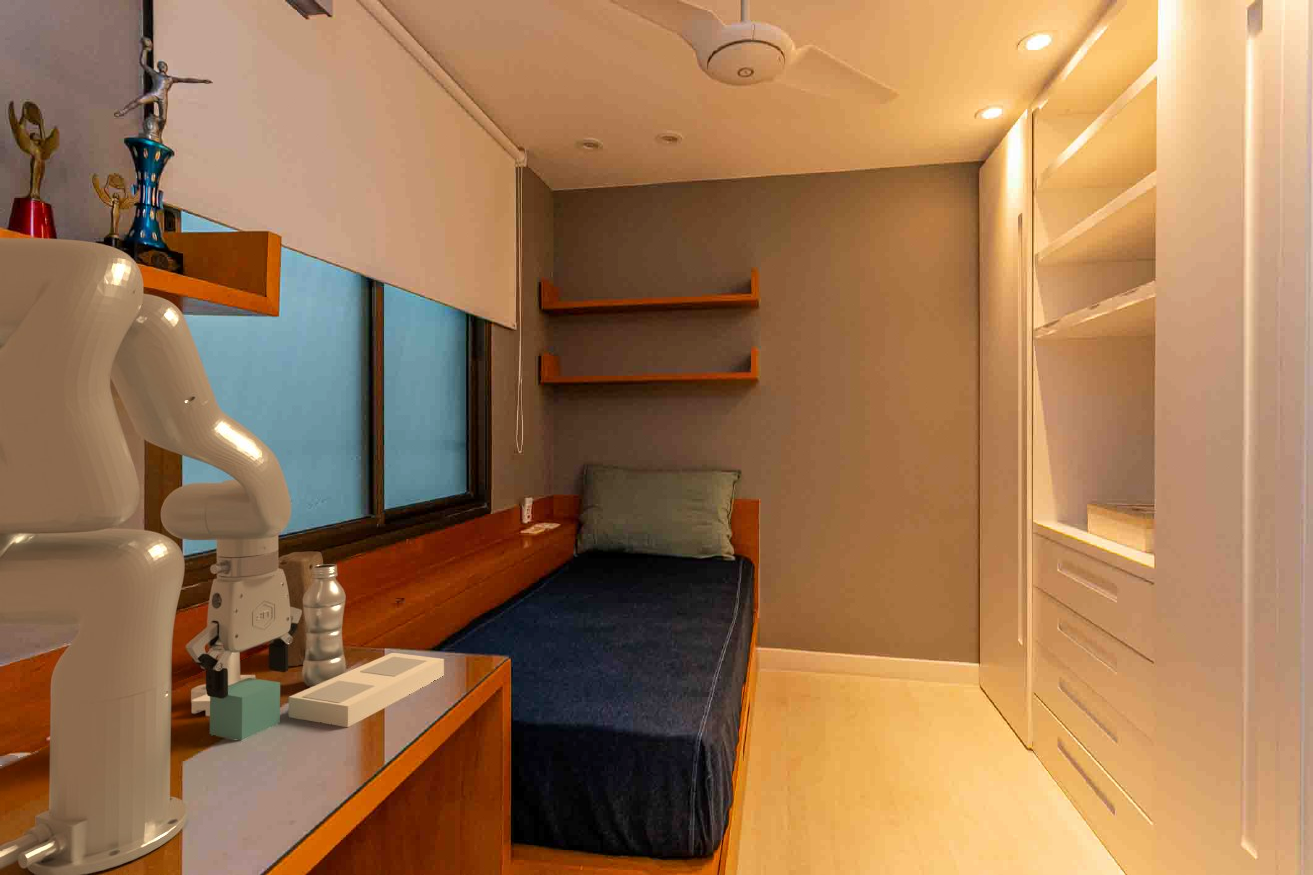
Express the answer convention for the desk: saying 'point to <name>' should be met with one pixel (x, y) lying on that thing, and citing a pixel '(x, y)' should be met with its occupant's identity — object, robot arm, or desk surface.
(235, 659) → the joystick
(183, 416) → the robot arm
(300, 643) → the block
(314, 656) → the plastic bottle
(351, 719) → the board
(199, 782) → the desk surface
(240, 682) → the cube
